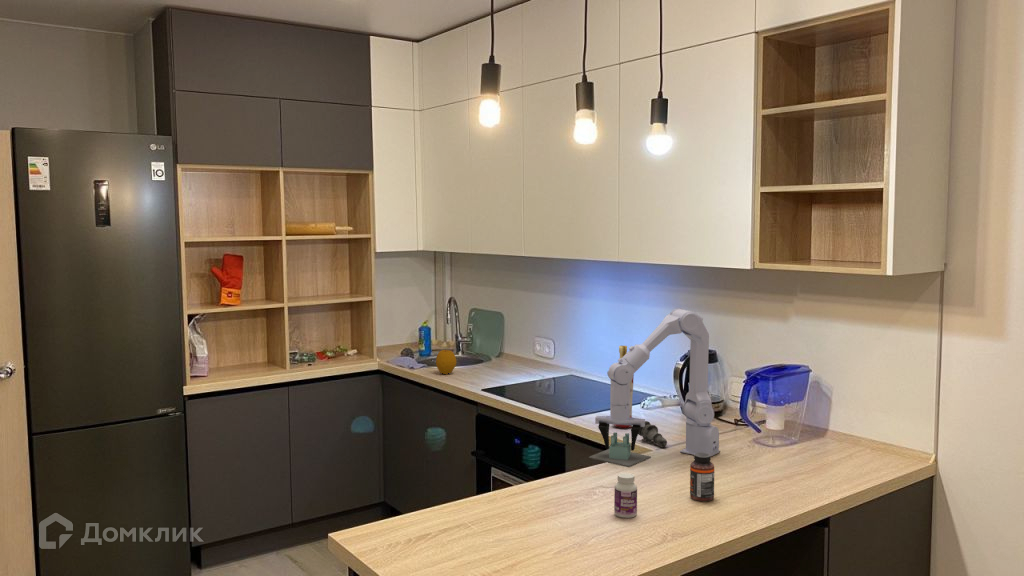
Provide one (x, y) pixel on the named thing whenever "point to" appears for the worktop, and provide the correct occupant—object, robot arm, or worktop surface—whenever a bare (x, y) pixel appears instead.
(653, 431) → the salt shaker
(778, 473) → the worktop surface
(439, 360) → the orange rounded oval
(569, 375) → the worktop surface
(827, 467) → the worktop surface
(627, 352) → the robot arm
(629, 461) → the mat
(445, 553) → the worktop surface
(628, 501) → the pill bottle
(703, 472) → the supplement bottle
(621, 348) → the liquor
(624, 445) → the stool
